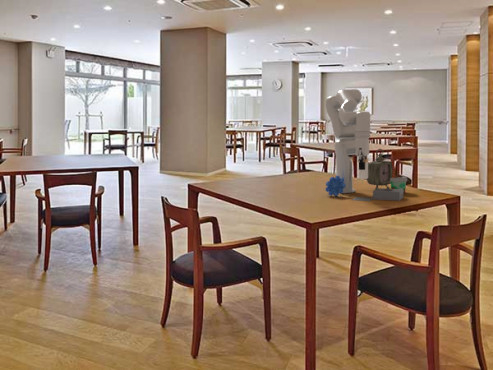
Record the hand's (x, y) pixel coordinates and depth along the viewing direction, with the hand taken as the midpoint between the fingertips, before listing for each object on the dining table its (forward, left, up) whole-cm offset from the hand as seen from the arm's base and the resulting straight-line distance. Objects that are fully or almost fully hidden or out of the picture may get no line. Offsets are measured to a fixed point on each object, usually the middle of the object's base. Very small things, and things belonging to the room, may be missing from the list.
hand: (363, 168), depth 263 cm
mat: (0, 0, -17) cm, 17 cm away
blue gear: (-18, +8, -17) cm, 26 cm away
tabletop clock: (0, +35, -17) cm, 39 cm away
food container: (+15, +24, -17) cm, 33 cm away
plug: (0, 0, -5) cm, 5 cm away
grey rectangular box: (+12, +6, -17) cm, 22 cm away
